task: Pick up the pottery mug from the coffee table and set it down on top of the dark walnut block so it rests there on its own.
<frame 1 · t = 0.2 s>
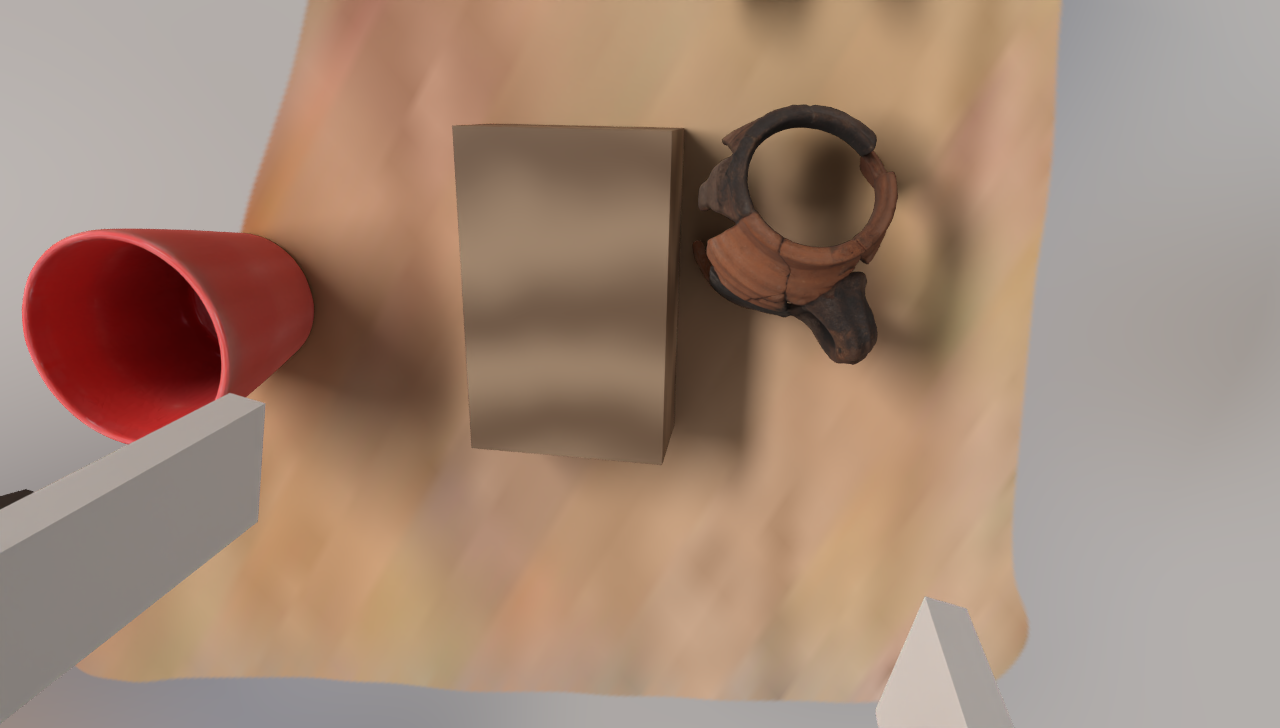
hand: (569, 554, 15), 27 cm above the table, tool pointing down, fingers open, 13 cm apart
flower pot: (256, 296, 44), on the table
walnut block: (586, 281, 41), on the table
pottery mug: (795, 234, 38), on the table
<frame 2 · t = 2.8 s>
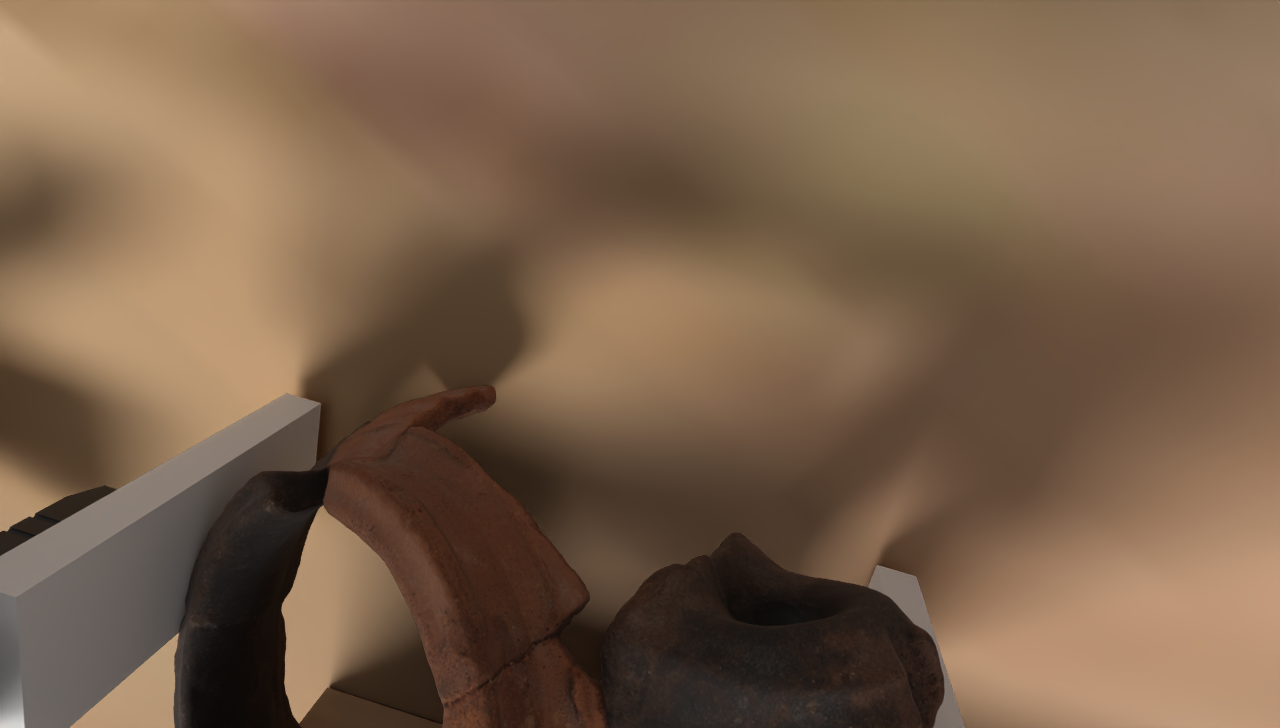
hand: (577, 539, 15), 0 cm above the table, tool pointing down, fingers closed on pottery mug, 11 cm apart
pottery mug: (599, 568, 16), on the table, touching gripper
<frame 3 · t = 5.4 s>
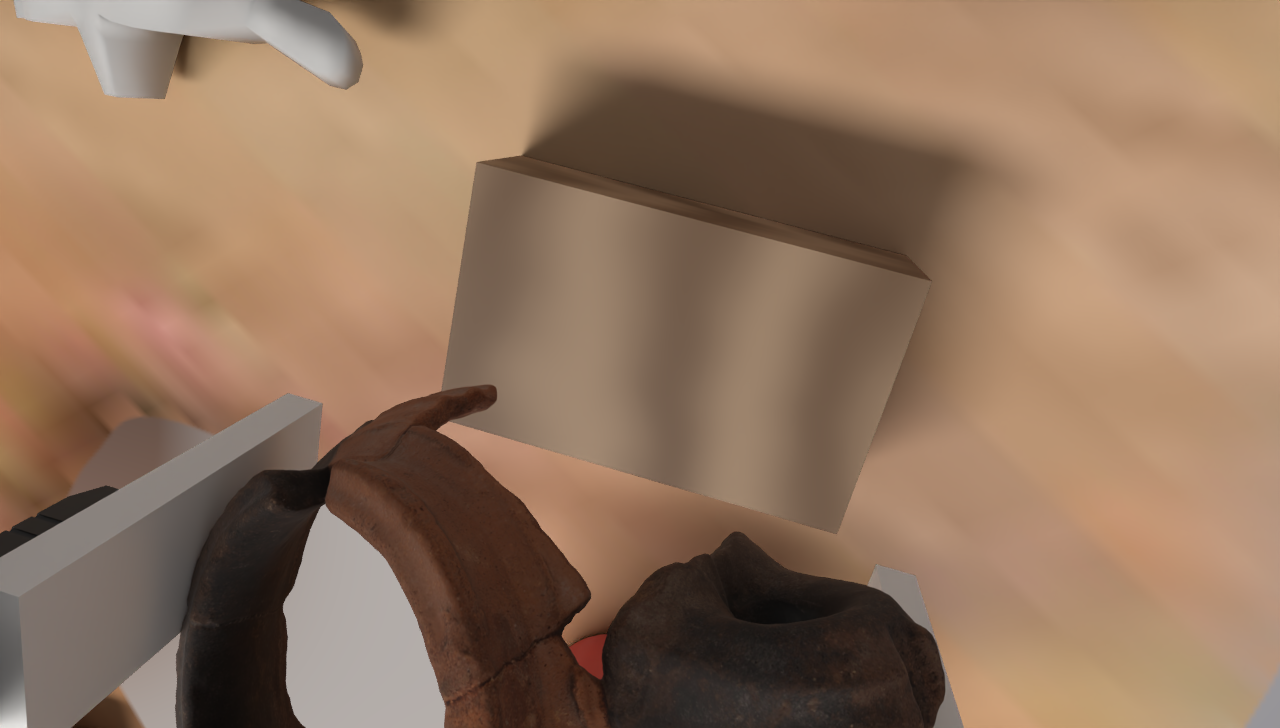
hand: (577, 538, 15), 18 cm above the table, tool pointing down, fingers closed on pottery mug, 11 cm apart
flower pot: (622, 692, 39), on the table
walnut block: (679, 320, 32), on the table
pottery mug: (600, 567, 16), point 17 cm above the table, touching gripper
when the fingers open (7 cm above the table, at t = 8.1 s): pottery mug drops 1 cm, resting on walnut block.
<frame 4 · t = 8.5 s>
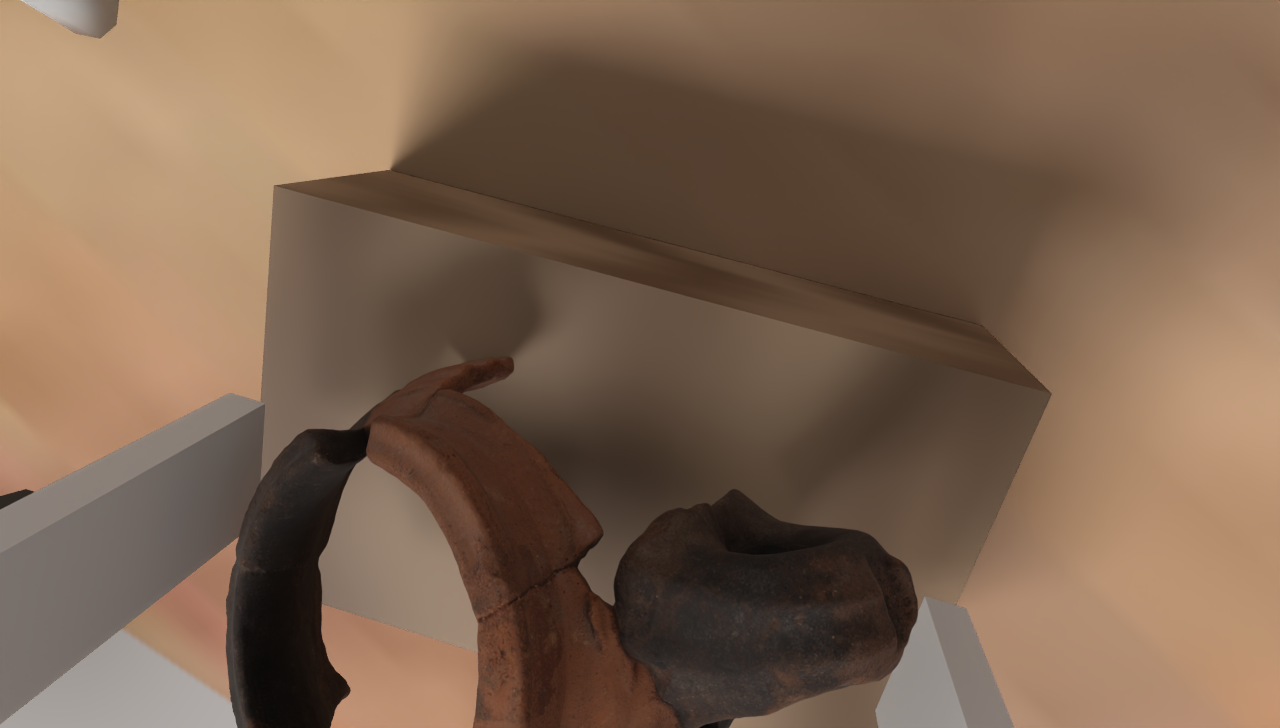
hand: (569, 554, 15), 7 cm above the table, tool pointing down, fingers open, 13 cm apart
walnut block: (633, 416, 21), on the table
pottery mug: (608, 528, 17), point 5 cm above the table, touching walnut block
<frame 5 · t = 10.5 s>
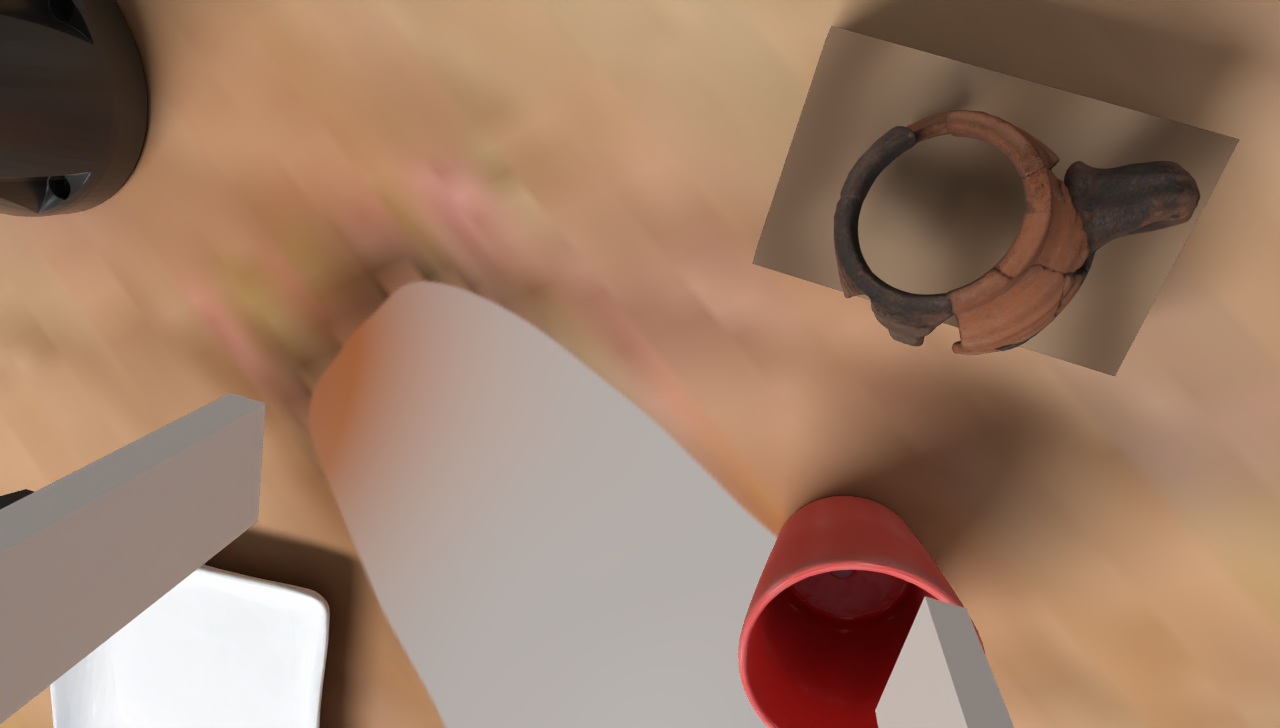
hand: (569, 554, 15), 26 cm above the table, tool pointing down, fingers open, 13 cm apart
flower pot: (843, 554, 42), on the table
walnut block: (952, 196, 36), on the table
pottery mug: (979, 226, 31), point 5 cm above the table, touching walnut block
salad plate: (214, 659, 54), on the table
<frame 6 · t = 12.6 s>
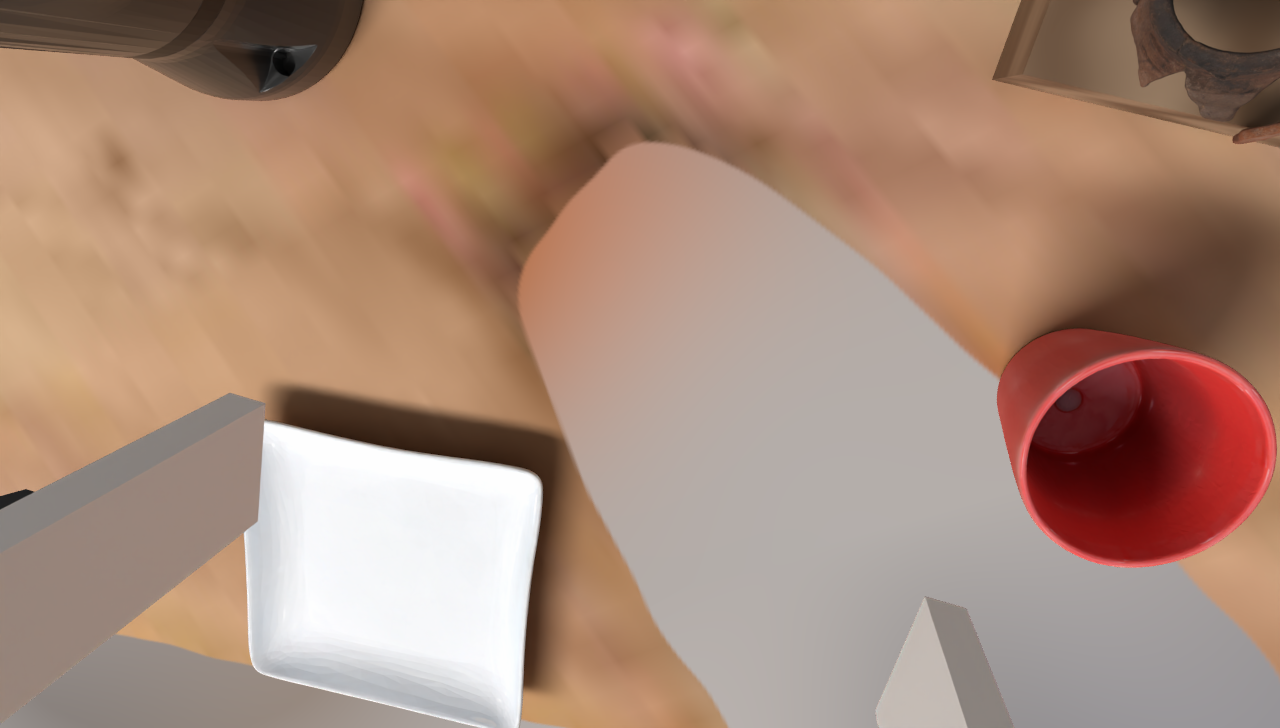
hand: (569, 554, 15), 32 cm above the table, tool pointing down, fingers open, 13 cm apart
flower pot: (1064, 391, 43), on the table
walnut block: (1195, 11, 37), on the table
pottery mug: (1257, 18, 32), point 5 cm above the table, touching walnut block
salad plate: (405, 556, 55), on the table
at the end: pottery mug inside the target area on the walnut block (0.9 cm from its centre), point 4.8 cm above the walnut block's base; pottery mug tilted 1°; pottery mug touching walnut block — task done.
